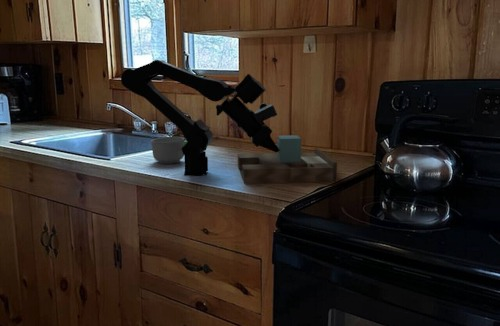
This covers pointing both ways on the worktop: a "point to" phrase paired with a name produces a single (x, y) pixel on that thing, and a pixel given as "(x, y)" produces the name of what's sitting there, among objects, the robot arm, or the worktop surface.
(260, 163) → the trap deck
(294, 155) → the teal block
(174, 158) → the teacup
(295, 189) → the worktop surface
